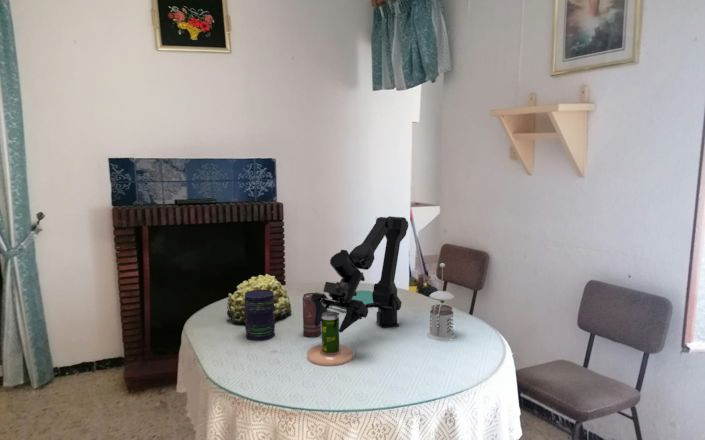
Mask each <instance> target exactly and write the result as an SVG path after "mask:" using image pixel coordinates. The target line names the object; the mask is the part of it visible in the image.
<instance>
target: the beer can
mask: <svg viewBox="0 0 705 440" xmlns="http://www.w3.org/2000/svg"><path fill="white" fill-rule="evenodd" d="M330 311H331V312H324V313H322V317H321V345H322V352H323V353H324V354H326V355H335V354H337V353H338V352H339V345H340V332H339V329H340V316H339V315H338V313H337V312H338V311H334V312H332V310H330Z"/></svg>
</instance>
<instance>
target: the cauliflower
mask: <svg viewBox="0 0 705 440" xmlns="http://www.w3.org/2000/svg"><path fill="white" fill-rule="evenodd" d="M236 289H237V290H236V291H234V292H233V294H232V293H230V292H229V293H228V295H227V296H228V297H226V299H227V302H226V303H227V305H226V308H227V312H226V314H227V316H228V317H230V319H229V320H230V321H232V323H235V324H237V323H238V324H243V325H244V324H245V322H246V311H245V293H246V292H248V291H252V290H260V289H264V290H271V291H273V292H274V295H273V296H274V309H273V314H274V321H275V323H276V322H277V321H280V320H282V319H283V318H285V319H286V318H287V317H288V316H290V315H292V306H291V304H292V303H291V302H290V297H289V295H288V294H287V293H288V289H286V288H285V287H284V286H283V285H282V284H281V282H280V281H278V280H277V278H276V276H275V275H270V274H267V273H266V274H265V275H261V274H259V275H258V276H251V277H250V279H249V278H248V280H244V281H242V283H240V284H238V285H237V286H236Z"/></svg>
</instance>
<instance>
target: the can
mask: <svg viewBox="0 0 705 440" xmlns="http://www.w3.org/2000/svg"><path fill="white" fill-rule="evenodd" d="M313 293H314V292H307V293H304V294H303V296H302V327H303V329H302V330H303V331H302V332H303V336H305V337H307V338H316V337H319V336H320V335H322V331H321V322H320V324H319V325H318V326H317V327H316V326H315V316H316V306H315V304H314V303H313V301H312V300H311V299H310V298H311V296H312V294H313Z"/></svg>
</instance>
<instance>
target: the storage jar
mask: <svg viewBox="0 0 705 440" xmlns="http://www.w3.org/2000/svg"><path fill="white" fill-rule="evenodd" d="M273 295H274V292H273V291H271V290H264V289H260V290H252V291H248V292H246V293H245V311H246V322H245V323H244V324H245V334H246V335H245V338H246V340H248V341H251V342H264V341H269V340H271V339H273V338H274V337H275V334H276V333H275V330H276V329H275V328H276V324H275V323H276V322H275V321H274V314H273V309H274V296H273Z"/></svg>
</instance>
